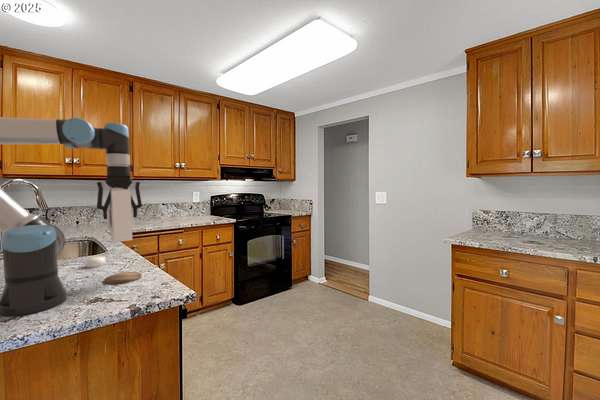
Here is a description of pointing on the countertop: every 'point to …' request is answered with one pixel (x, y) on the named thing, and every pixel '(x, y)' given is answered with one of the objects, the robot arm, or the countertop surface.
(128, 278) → the disc
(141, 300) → the countertop surface
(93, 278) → the countertop surface
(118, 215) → the milk
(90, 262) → the cream rounded dome part
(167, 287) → the countertop surface
